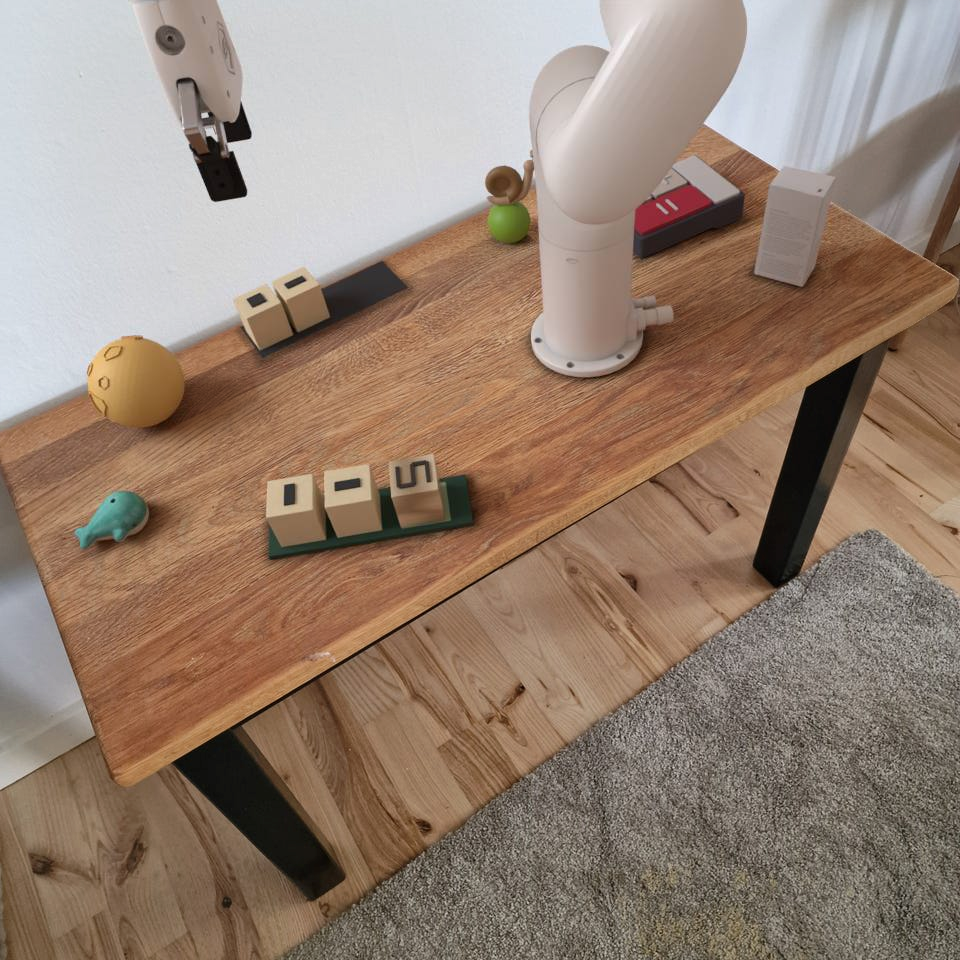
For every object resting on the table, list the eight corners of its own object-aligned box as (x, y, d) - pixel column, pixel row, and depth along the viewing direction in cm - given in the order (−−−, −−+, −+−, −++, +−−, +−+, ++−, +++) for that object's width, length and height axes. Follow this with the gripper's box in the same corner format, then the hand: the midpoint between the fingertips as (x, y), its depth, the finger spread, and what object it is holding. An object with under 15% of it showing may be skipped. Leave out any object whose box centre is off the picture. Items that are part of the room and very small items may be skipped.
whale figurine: (160, 530, 84) (144, 508, 81) (90, 567, 82) (72, 545, 79) (142, 493, 87) (126, 471, 84) (75, 528, 85) (56, 506, 82)
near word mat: (466, 477, 84) (459, 440, 79) (473, 525, 80) (466, 489, 75) (271, 510, 84) (253, 475, 79) (270, 560, 80) (250, 525, 75)
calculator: (595, 191, 106) (695, 148, 108) (596, 219, 109) (694, 177, 111) (641, 234, 99) (747, 188, 101) (641, 263, 103) (743, 218, 105)
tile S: (441, 485, 83) (433, 452, 78) (445, 520, 80) (438, 487, 76) (398, 492, 83) (388, 459, 78) (401, 528, 80) (390, 495, 76)
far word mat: (382, 264, 107) (373, 226, 102) (409, 291, 103) (400, 252, 98) (241, 330, 102) (225, 293, 97) (263, 361, 98) (247, 324, 93)
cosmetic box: (815, 267, 98) (839, 176, 88) (802, 288, 96) (825, 197, 86) (765, 254, 100) (783, 164, 91) (751, 274, 98) (768, 184, 89)
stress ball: (201, 376, 97) (167, 310, 90) (194, 437, 91) (157, 372, 83) (117, 390, 97) (76, 325, 89) (105, 452, 91) (60, 389, 83)
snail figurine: (539, 249, 105) (535, 164, 96) (489, 253, 106) (480, 168, 97) (538, 224, 109) (533, 139, 99) (490, 228, 109) (480, 144, 100)
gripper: (196, -3, 56) (271, 215, 69) (213, -90, 67) (276, 114, 80) (87, 15, 56) (183, 230, 69) (122, -74, 67) (200, 126, 80)
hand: (233, 167), depth 75 cm, fingers open, 9 cm apart
